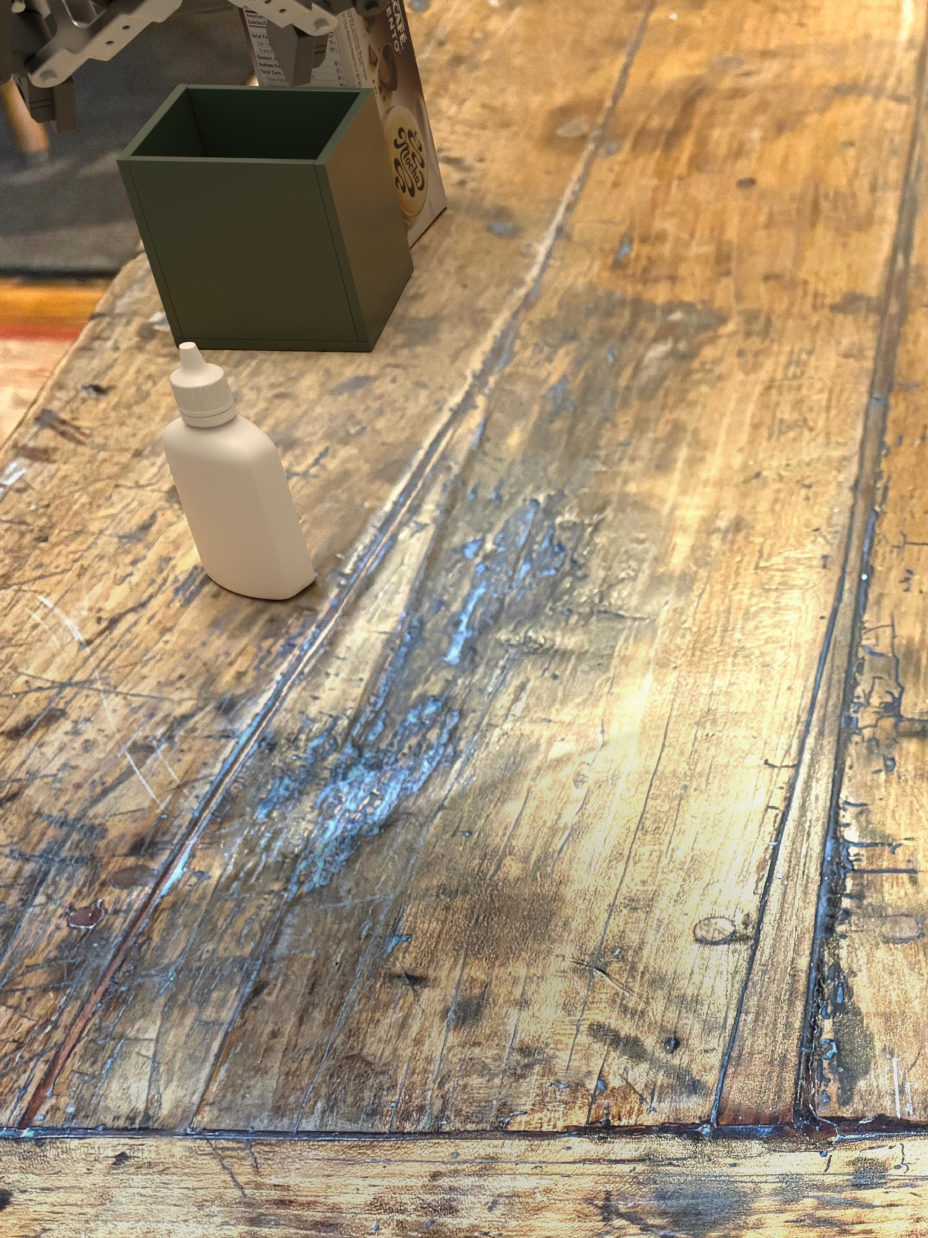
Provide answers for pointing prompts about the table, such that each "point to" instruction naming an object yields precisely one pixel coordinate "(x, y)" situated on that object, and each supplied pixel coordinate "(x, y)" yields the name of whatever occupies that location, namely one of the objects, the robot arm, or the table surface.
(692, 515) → the table surface
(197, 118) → the trash can
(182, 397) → the eye dropper bottle
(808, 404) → the table surface
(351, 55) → the coffee box
